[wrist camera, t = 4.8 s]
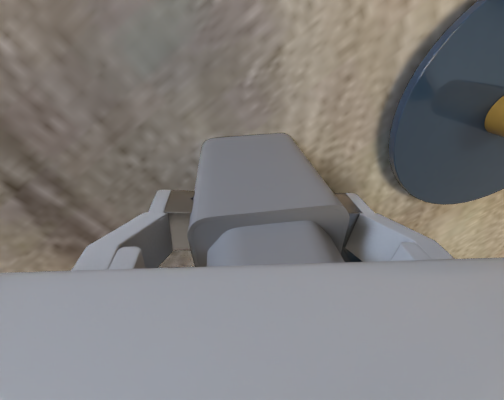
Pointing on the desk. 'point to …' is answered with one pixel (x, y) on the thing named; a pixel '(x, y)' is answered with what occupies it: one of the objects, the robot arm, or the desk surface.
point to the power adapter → (262, 205)
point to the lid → (455, 113)
